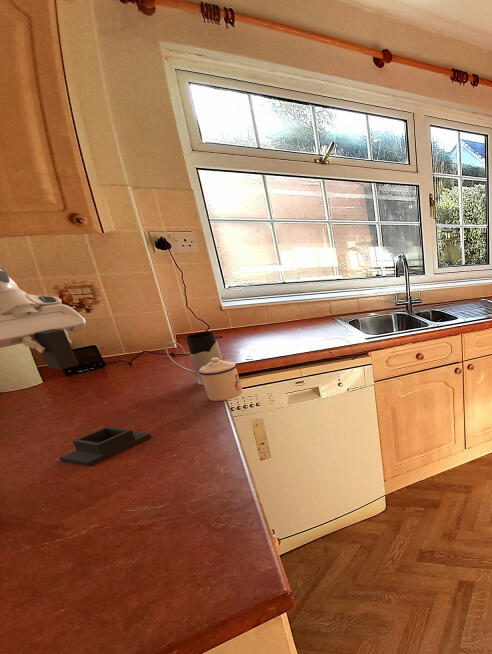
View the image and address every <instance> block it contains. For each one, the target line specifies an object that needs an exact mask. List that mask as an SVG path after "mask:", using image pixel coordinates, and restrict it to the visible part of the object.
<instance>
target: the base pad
mask: <svg viewBox="0 0 492 654" xmlns="http://www.w3.org/2000/svg"><path fill="white" fill-rule="evenodd" d="M151 438H152V435H151V433H148V432H142V431H136V430H132V429H128V428H119V427H114V426H105V427H102V428H100V429H98V430H94V431H91V432H90V433H87V434H85V435H83V436H80V437H78V438H75V439H73V440H72V444H73V445H74V447H75V449H74V450H72V451H70V452H68V453H65V454H63V455H61V456H59V460H60V461H61V462H64V463H70V464H75V465H80V466H85V467H86V466H87V467H92V466H94V465H96V464H97V463H100V462H102V461H105V460H106V459H108V458H110V457H113V456H115V455H117V454H119V453H121V452H124V451H125V450H127V449H130V448H131V447H132V448H133V447H134V446H136V445H138V444H140V443H142V442H145V441H146V440H149V439H151Z"/></svg>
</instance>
